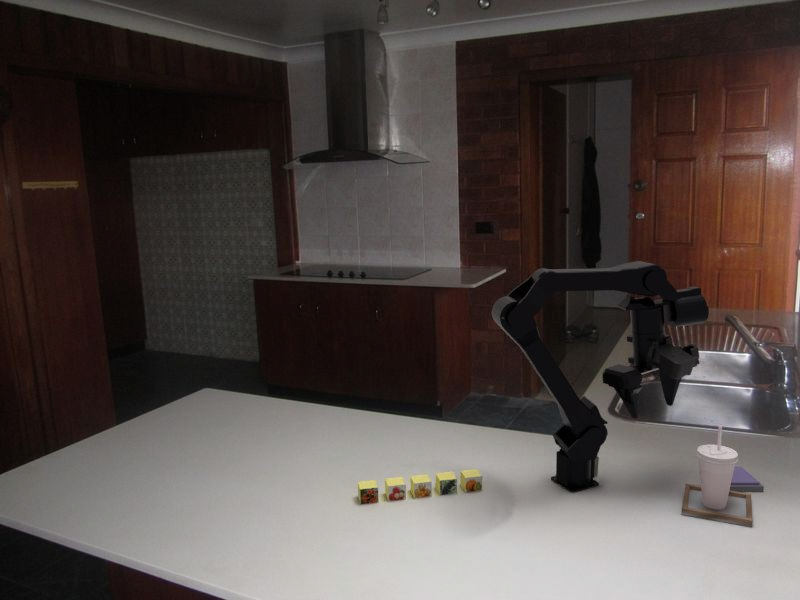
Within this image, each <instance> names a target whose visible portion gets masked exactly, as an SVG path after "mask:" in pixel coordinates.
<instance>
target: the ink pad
mask: <svg viewBox="0 0 800 600" xmlns="http://www.w3.org/2000/svg"><path fill="white" fill-rule="evenodd" d="M764 488H765V487H764V485H763V484H761V482H760V481H758V480H757V479H756V478H755V477H754V476H753V475H752V474H751V473H749V471H747V469H745V468H744V467H743V466H734V471H733V476H732V480H731V485H730V490H731V491H737V492H743V493H749V492H751V493H753V492H755V493H756V492H759V493H760V492H762V493H763V492H764V491H765V490H764Z"/></svg>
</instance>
